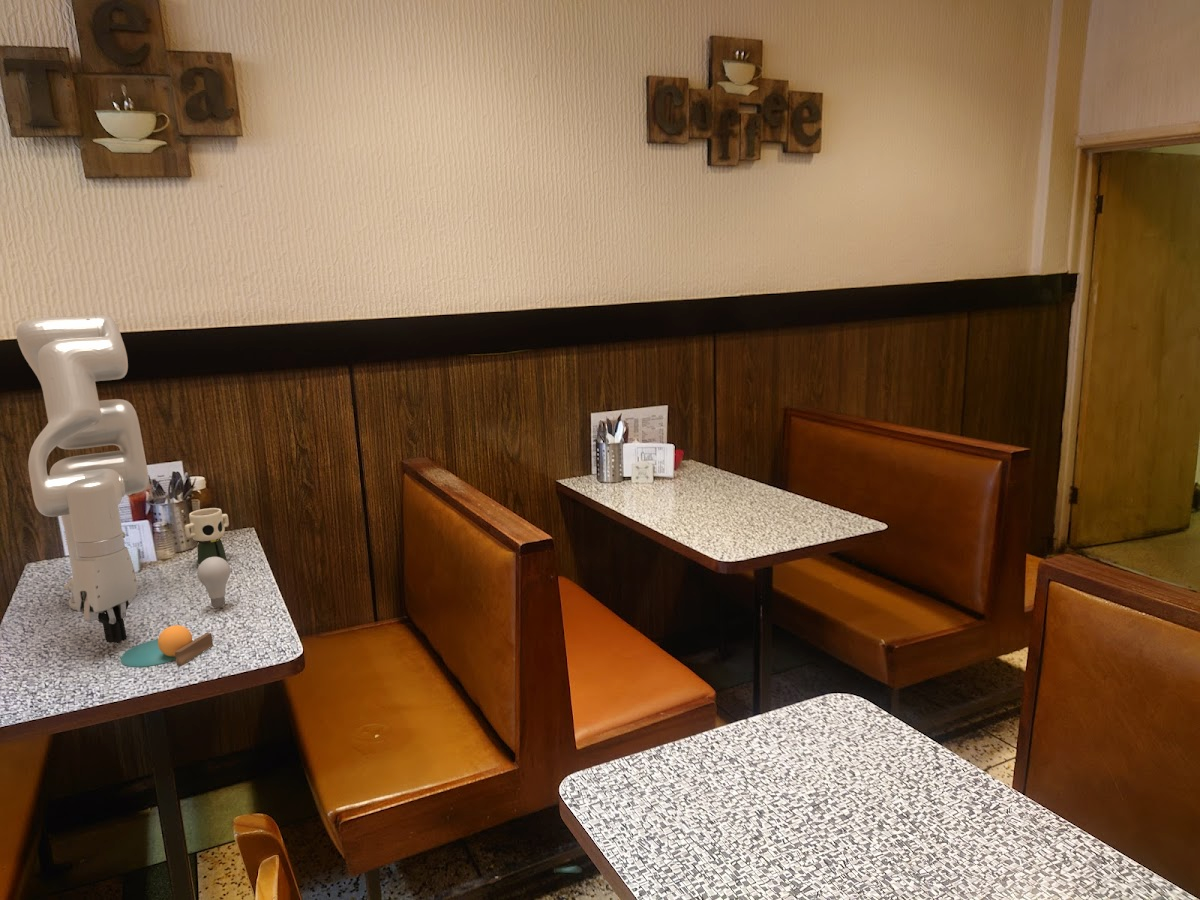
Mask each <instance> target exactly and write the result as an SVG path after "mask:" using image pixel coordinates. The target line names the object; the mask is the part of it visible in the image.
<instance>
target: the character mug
mask: <svg viewBox="0 0 1200 900" xmlns="http://www.w3.org/2000/svg"><path fill="white" fill-rule="evenodd" d="M188 517H189V523H188V524H185V525H184V533H185V537H186V539H192V540H194V541H196V542H198V543H197V564H198V565H200V564H201V562H203V561H204V560H205V559H207V558H210V557H220V558H222V559H224V560H225V561H226V562H227V555H226V554H227V553H226V552H225V548H224V545H223V541H222V540H221V537H223V536H224V535H225V532H226V531H225V530H226V529H225V528H228V527H229V525H230V522H229V516H228V514H227V513H223V512H222V509H221V508H217V507H209V508H202V509H197V510H194V511H191V512H190V513H189V514H188Z"/></svg>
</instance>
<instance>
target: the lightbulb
mask: <svg viewBox="0 0 1200 900" xmlns="http://www.w3.org/2000/svg"><path fill="white" fill-rule="evenodd" d="M196 573H197V577H198V580H199V581H200V583H201V584H202V585H203V587H204V588H205V589H206V592H207V593H208V598H209V599H210V603H211V607H213V609H214V608H215V609H217V610H218V609H221V608H222V607H225V605H226V598H225V597H226V586H227V583H228V580H229V578H230V575H231V568H230V564H229V563H228V562H227V560H226V561H225V560H224V559H222V558H220V557H210V558H207V559H205V560H204V561H203V562H201V564H198V568H197V572H196Z"/></svg>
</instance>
